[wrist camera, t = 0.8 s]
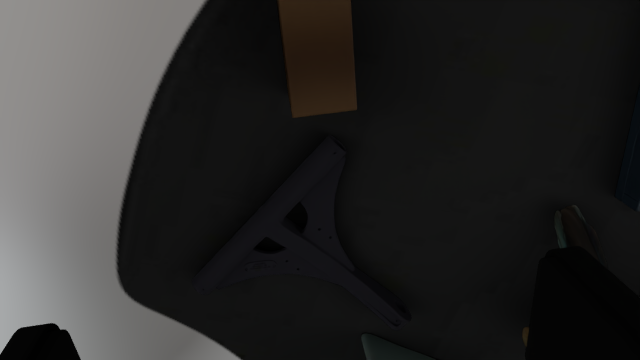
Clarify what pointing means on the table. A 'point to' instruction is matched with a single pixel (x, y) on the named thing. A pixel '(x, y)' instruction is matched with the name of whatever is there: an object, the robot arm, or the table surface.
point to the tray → (631, 164)
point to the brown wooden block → (318, 55)
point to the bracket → (301, 240)
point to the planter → (388, 350)
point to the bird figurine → (574, 238)
